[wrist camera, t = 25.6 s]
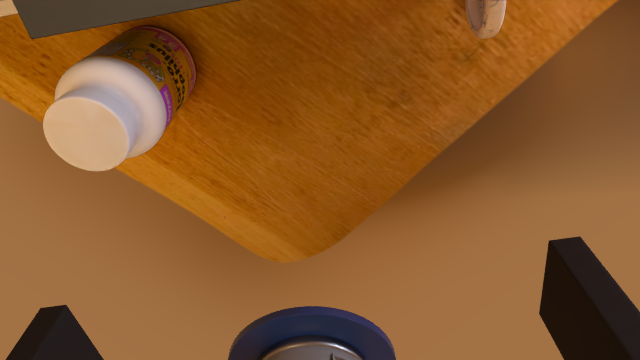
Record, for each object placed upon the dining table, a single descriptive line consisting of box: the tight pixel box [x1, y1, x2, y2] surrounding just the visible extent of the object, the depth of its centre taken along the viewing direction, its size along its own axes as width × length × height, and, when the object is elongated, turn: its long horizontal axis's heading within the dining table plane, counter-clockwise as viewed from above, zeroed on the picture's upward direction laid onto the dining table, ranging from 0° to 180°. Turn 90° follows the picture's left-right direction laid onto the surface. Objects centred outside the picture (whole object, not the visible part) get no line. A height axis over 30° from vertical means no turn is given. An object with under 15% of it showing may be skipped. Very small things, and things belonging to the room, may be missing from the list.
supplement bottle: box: [43, 27, 196, 171], centre depth 30 cm, size 7×7×13 cm
